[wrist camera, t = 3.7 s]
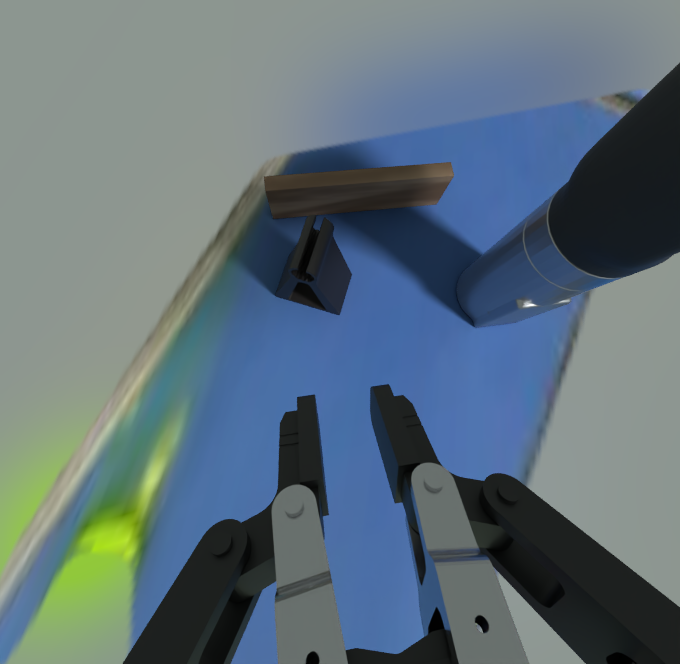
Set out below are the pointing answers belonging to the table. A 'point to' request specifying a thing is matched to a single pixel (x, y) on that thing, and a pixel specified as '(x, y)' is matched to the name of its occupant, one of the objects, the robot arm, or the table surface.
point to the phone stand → (316, 270)
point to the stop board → (357, 189)
